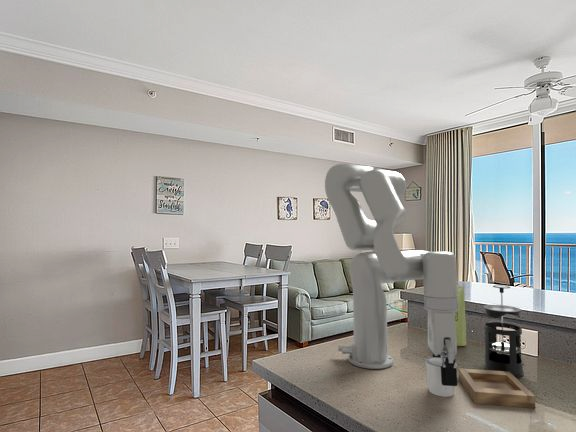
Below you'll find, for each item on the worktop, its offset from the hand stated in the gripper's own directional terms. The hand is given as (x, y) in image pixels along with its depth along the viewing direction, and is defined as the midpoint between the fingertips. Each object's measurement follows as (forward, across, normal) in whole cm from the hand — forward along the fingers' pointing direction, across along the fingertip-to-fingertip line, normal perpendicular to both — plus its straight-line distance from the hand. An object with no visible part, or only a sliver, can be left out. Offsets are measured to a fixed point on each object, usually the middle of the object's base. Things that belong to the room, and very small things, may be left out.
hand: (444, 377), depth 87 cm
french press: (+4, -18, +18) cm, 26 cm away
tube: (+3, -40, +12) cm, 42 cm away
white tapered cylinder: (+4, -1, -1) cm, 4 cm away
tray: (+4, -3, +11) cm, 12 cm away
